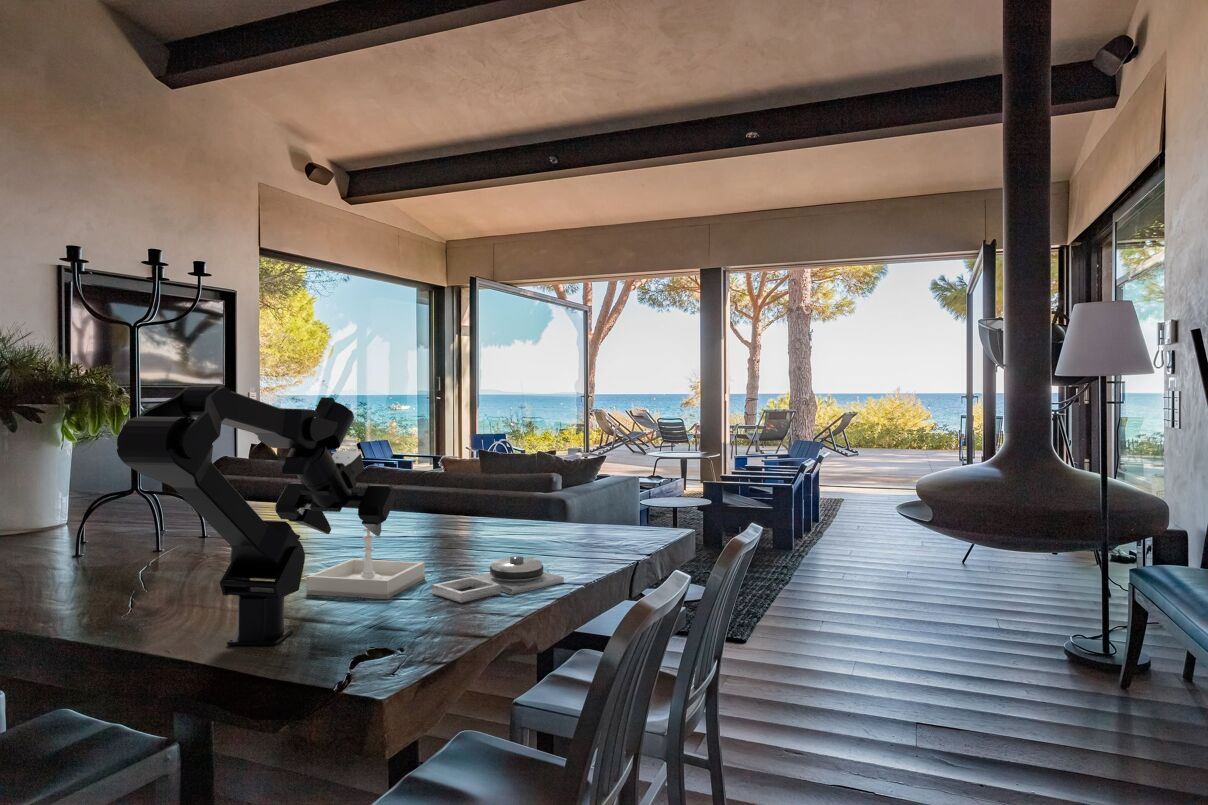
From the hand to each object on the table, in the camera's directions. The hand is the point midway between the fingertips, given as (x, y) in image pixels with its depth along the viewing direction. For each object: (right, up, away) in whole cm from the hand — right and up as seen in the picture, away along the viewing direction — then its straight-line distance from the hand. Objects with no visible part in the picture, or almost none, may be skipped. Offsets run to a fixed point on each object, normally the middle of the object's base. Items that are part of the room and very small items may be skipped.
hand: (354, 532), depth 125 cm
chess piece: (+1, -10, +5) cm, 11 cm away
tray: (+1, -10, +5) cm, 11 cm away
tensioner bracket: (+23, -10, +5) cm, 26 cm away
